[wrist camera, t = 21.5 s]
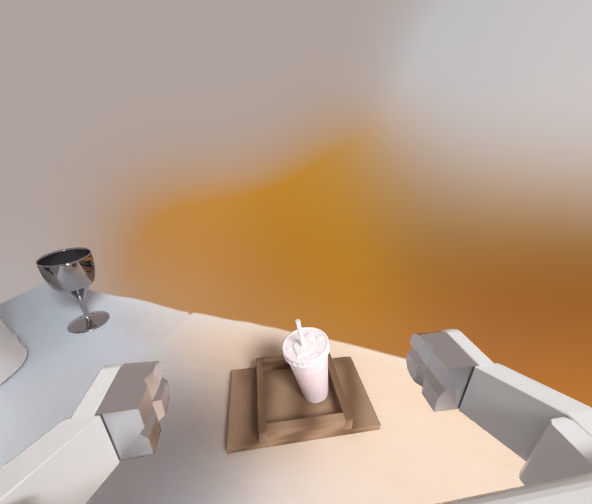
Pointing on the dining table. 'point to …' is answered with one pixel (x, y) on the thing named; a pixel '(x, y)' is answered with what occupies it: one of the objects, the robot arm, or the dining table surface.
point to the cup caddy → (294, 405)
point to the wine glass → (73, 283)
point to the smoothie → (308, 360)
